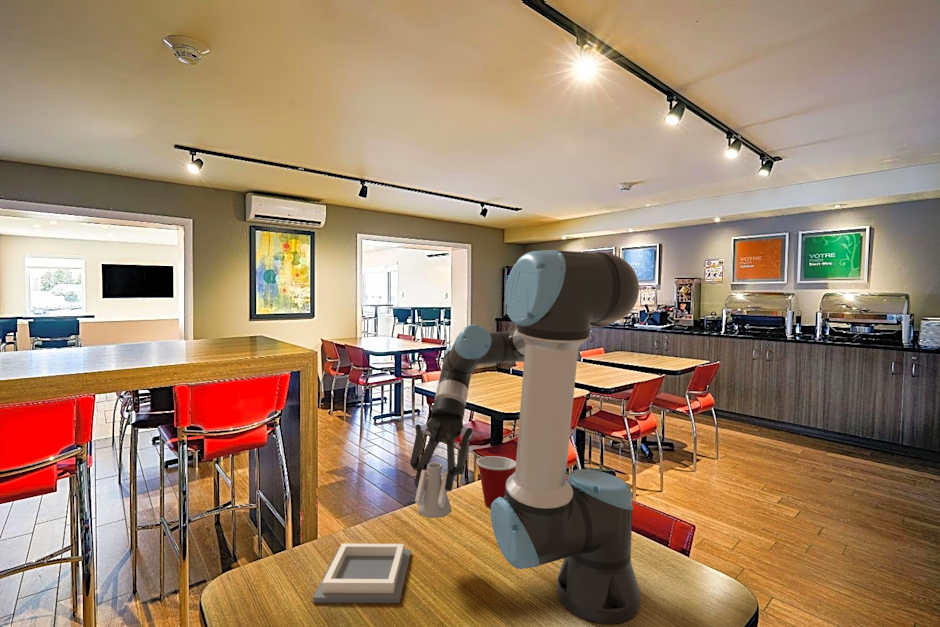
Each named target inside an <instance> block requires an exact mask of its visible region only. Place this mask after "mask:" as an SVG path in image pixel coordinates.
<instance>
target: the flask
mask: <svg viewBox="0 0 940 627" xmlns="http://www.w3.org/2000/svg"><path fill="white" fill-rule="evenodd" d="M427 466H428V467H427V470H428V477H427V482H426V487H425V491H424V496H423V501H422V505H421V506H419V505H418V515H419V516H423V517H425V518H429V519H437V518H445V517H446V516H448V515H449V514H450V513H451V512H452V505H451V503H450V500H449V497H448V494H446V499H445V505H444V508H440V506H439V504H438V499H439V494H440V489H441V484H442V478H443V477H442V471H441V470H442V468H443V463H440V462H437V461H436V462H429V464H428V465H427Z"/></svg>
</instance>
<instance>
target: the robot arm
mask: <svg viewBox="0 0 940 627" xmlns="http://www.w3.org/2000/svg"><path fill="white" fill-rule="evenodd" d="M504 291H505V292H504V304H505V306H506V314H507V315H508V317H509V319H510V320H511V322H513V323H514V324H516V327H517V328H515V329H513V330H511V331H492V332H491V331H490V332H489V331H488V329H486V328H485V327H483V326H480V325H478V324H469V325H467V326H465V327H464V328H462V329H461V331H460V332H459V334H458V335H457V336H456V338H455V341H454V342H453V345H451V346H448V347H447V348H446V350H445V353H444V357H443V359H442V366H441V370H440V375H439V379H438V384H437V388H436V391H435V392H436V393H435V396H434V402H433V405H432V410H431V412H430V413H431V414H430V418H429V419H428V421H427V422H426V424H423V425H421V424H418V423H417V424H416V425H415V433H416V434H415V439H414V442H413V447H412V454H411V456H410V462H409V464H410V466H411V468H412V469H413V471H416V475H415V479H414V486H415V488H417V490H416V494H415V499H414V501H415V503H416V504H417V506H418V507H419V506H421V505H422V501H423V496H424V492H425V488H426V485H427V482H428V476H429V473H427V470H428V466H427V465H428V464H430V463H431V460H432V457H433V455H434V452H435V451H436V449H437V447H438V445H439V443H446V452H447V453H446V454H447V456H446V457H447V458H446V460H447V461H446V462H447V468H446V470H447V471H443V474H442V477H441V478H442V484H441V489H440V494H439V499H438V504H439V506H440V508H444V505H445V499H446V494H447V493H448V492H451V491H452V490H453V486H454V480H455V477H456V476H457V475H464V473H465V467H466V463H467V458H468V453H469V452H468V451H469V446H470V443H471V441H472V440H473V437H474V431H473V429H472V428H471V427H468V428H467V427H466V426H464V424H463V423H464V417H465V411H466V405H467V399H468V395H469V394H468V393H469V387H470V382H471V377H472V375H473V373H474V372H475V371H476V369H477V367H478V366H480V365H493V364H502V363H503V364H504V363H505V364H506V363H507V364H508V363H521V362H522V363H523V370H522V371H523V372H522V383H521V394H520V395H521V396H520V406H519V407H520V409H519V419H518V421H519V422H518V424H519V425H518V434H517V435H518V436H517V448H516V458H515V462H516V466H515V472H513V474H512V475H511V476H510V477H509V478H508V479H507V481H506V489H505V496H504V497H498V498H497V499H495V500H494V501H493V502H492V505H491V509H490V521H491V527H492V531H493V535H494V538H495V540H496V544H497V546H498V548H499V550H500V552H501V554H502V556H503V557H504V559H505V560H506V561H507V563H508V564H509V565H511V566H512V567H513V568H516V569H518V570H524V569H529V568H538V567H540V566H542V565H546V564H548V563H553V562H556V561H560V560H563V561H562V564H561V566H560V570H559V572H558V575H557V579H556V592H557V593H556V594H557V597H558V599H559V601H560V603H561V604H562V605H563V607H564V608H565V609H567V610H568V611H569V612H570V613H572V614H573V615H575V616H577V617H579V618H581V619H583V620H586V621H589V620H590V622H592V621H594V622H593V623H596V622H600V623H599V624H603V623H611V624H610V625H613V624H612V623H615V624H619V623H625V622H628V621H629V620H631V619H633V618H634V617H635V616H636V615H637V614H638V613H639V610H640V606H641V605H640V602H641V591H640V587H639V584H638V581H637V577H636V574H635V570H634V568H633V564H632V561H631V559H632V558H631V556H632V555H631V553H632V530H633V528H632V527H633V510H634V506H633V497H632V496H633V492H632V489H631V487H630V485H629V484H628V483H627V482H625V481H624V480H623V479H621V478H619V477H618V476H616V475H613V474H611V473H607V472H605V471H604V472H603V471H601V470H595V469H587V468H586V469H585V468H584V469H583V468H581V469H580V468H579V469H574V470H571V471H570V472H569V474H568V476H567V468H568V456H569V449H570V448H569V447H570V438H571V427H572V426H571V425H572V417H573V405H574V394H575V384H576V375H577V374H576V373H577V365H578V355H579V348H580V346H582V345H583V344H584V343H586V342H587V341H588V340H589V339H590V332H591V330H590V329H591V328H592V327H593V328H603V327H604V328H605V327H606V326H609V325H611V324H613V323H616V322H617V321H620V320H621V319H622V318H625V317H626V316H627V315H629V313H631V311H632V310H633V309H634V307H635V306H636V303H637V302H638V299H639V293H640V284H639V278H638V276H637V274H636V271H635V270H634V269H633V267H632V266H631V264H630V263H628V262H627V261H626V260H625V259H623V258H622V257H620V256H618V255H616V254H613V253H609V252H602V251H601V252H600V251H597V252H596V251H595V252H591V251H576V250H575V251H573V250H572V251H570V250H556V249H546V250H533V251H529V252H526V253H524V254H523V255H522V256H520V257H519V258H518V259H517V261H516V263H515V264H514V265H513V266H512V268H511V270H510V272H509V275H508V277H507V282H506V284H505V290H504ZM427 431H428V432H429V433H430V436H429V438H428V443H427V444H426V446H425V449H424V451H423V453H422V450H423V445H424V440H425V439H424V438H425V436H426V434H427ZM460 434H461V436H462V437H461V438H462V439H461V443H460V444H461V445H460V448H459V452H458V458H457V463H456V459H455V445H456V444H455V440H456V439H457V438H458V437H459V436H460ZM447 495H448V494H447Z"/></svg>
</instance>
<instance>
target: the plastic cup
mask: <svg viewBox="0 0 940 627" xmlns="http://www.w3.org/2000/svg"><path fill="white" fill-rule="evenodd" d="M476 465H477V467H478V471H479V476H480V483H481V489H482V494H483V501H484V504H485V506H486V505H487V506H488V507H490V508H491V505H492V502H493V501H494V500H495V499H497V498H498V497H504V496H505V489H506V481H507V479H508V478H509V477H510V476H511V475H512V474H514V471H515V469H516V460H513V459H512V458H508V457H506V456H498V455H497V456H496V455H493V456H492V455H491V456H489V455H488V456H487V455H486V456H482V457H479V458H477V459H476ZM487 506H486V507H487ZM488 507H487V508H488ZM490 508H489V509H490Z"/></svg>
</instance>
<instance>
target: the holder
mask: <svg viewBox="0 0 940 627" xmlns="http://www.w3.org/2000/svg"><path fill="white" fill-rule="evenodd" d="M411 554H412V551H411V549H410V548H408V549H407V548H406V549H405V544H404V543H348V542H347V543H345V542H343V543H341V545H340V547H339V548H338V549H337V550H336V551H335V554H334V556H333V557H332V559H331V561H330V564H329V566H328V567H327V569H326V570H325V574H324V576H323V578H322V579H321V581H320V583H319V585H318V587H317V588H316V591H315V593H314V595H313V597H312V600H313V602H312V603H313V604H315V603H316V604H318V603H320V604H321V603H322V604H323V603H324V604H325V603H327V604H328V603H329V604H330V603H331V604H334V603H335V604H337V603H338V604H400V602H401V599H402V594H403V589H404V585H405V580H406V577H407V576H406V575H407V573H408V567H409V564H410V558H411Z"/></svg>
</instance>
